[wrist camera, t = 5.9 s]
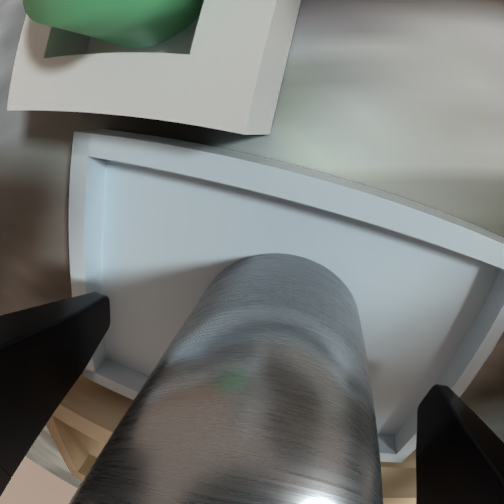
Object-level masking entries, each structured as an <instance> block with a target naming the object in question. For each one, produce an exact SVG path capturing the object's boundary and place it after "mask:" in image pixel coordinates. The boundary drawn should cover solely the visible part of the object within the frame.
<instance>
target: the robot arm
mask: <svg viewBox="0 0 504 504" xmlns="http://www.w3.org/2000/svg"><path fill="white" fill-rule="evenodd" d="M109 326H110V300H109V297H108V296H106V295H104V294H101V293H99V292H91V293H87V294H83V295H79V296H76V297H72V298H68V299H64V300H60V301H56V302H52V303H48V304H44V305H40V306H36V307H33V308H29V309H25V310H21V311H17V312H13V313H9V314H5V315H1V316H0V496H1V494H2V493H3V491H4V489H5V488H6V486H7V484H8V483H9V481H10V479H11V477H12V476H13V474H14V472H15V471H16V469H17V468H18V466H19V465H20V463H21V461H22V460H23V458H24V457H25V455H26V454H27V452H28V451H29V449H30V448H31V446H32V444H33V443H34V441H35V440H36V438H37V437H38V435H39V434H40V432H41V431H42V429H43V428H44V426H45V425H46V424H47V422H48V421H49V419H50V418H51V416H52V415H53V413H54V412H55V410H56V409H57V408H58V406H59V405H60V403H61V402H62V400H63V399H64V398H65V396H66V395H67V393H68V392H69V391H70V389H71V388H72V386H73V385H74V384H75V382H76V381H77V380H78V378H79V377H80V375H81V374H82V373H83V371H84V370H85V368H86V366H87V365H88V363H89V361H90V360H91V358H92V356H93V354H94V353H95V351H96V349H97V347H98V346H99V344H100V342H101V341H102V339H103V337H104V336H105V334H106V332H107V331H108V329H109ZM416 504H504V443H503V442H502V441H501V440H500V439H499V438H498V437H497V436H496V434H495V433H494V432H493V431H492V430H491V429H490V428H489V427H488V426H487V425H486V424H485V423H484V422H483V421H482V420H481V419H480V418H479V417H478V416H477V415H476V414H475V413H474V412H473V411H472V410H471V409H470V408H469V407H468V406H467V405H466V404H465V403H464V402H463V401H462V400H461V399H460V398H459V397H458V396H457V395H456V394H455V393H454V392H453V391H452V390H451V389H450V388H449V387H448V386H446V385H440V384H436V385H434V386H432V387H431V389H430V390H429V392H428V393H427V394H426V396H425V397H424V398H423V400H422V401H421V402H420V404H419V406H418V409H417V437H416Z"/></svg>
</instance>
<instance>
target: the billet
mask: <svg viewBox="0 0 504 504" xmlns="http://www.w3.org/2000/svg"><path fill="white" fill-rule="evenodd" d="M69 504H383V493H382V477H381V464H380V452H379V442H378V433H377V424H376V416H375V408H374V400H373V393H372V386H371V379H370V373H369V367H368V361H367V355H366V349H365V343H364V338H363V332H362V327H361V322H360V317H359V312H358V308H357V304H356V302H355V300H354V298H353V295H352V294H351V292H350V291H349V289H348V287H347V286H346V285H345V284H344V283H343V282H342V280H341V279H340V278H339V277H337V276H336V275H335V274H334V273H333V272H332V271H330V270H329V269H327V268H326V267H324V266H323V265H321V264H318V263H316V262H314V261H312V260H309V259H307V258H304V257H301V256H296V255H291V254H282V253H267V254H260V255H254V256H250V257H247V258H244V259H241V260H239V261H237V262H235V263H233V264H231V265H230V266H228V267H226V268H225V269H224V270H222V271H221V272H220V273H219V274H218V275H217V276H216V277H215V278H214V279H213V280H212V282H211V283H210V284H209V286H208V287H207V289H206V290H205V292H204V293H203V295H202V296H201V298H200V299H199V301H198V302H197V304H196V305H195V307H194V308H193V310H192V311H191V313H190V314H189V316H188V317H187V319H186V321H185V322H184V324H183V325H182V327H181V328H180V330H179V331H178V333H177V334H176V336H175V337H174V339H173V340H172V342H171V343H170V345H169V346H168V348H167V349H166V351H165V352H164V354H163V356H162V357H161V359H160V360H159V362H158V363H157V365H156V366H155V368H154V369H153V371H152V372H151V374H150V376H149V377H148V379H147V380H146V382H145V383H144V385H143V386H142V388H141V389H140V391H139V393H138V394H137V396H136V397H135V399H134V400H133V402H132V403H131V405H130V407H129V408H128V410H127V411H126V413H125V414H124V416H123V418H122V419H121V421H120V422H119V424H118V425H117V427H116V429H115V430H114V432H113V433H112V435H111V437H110V438H109V440H108V441H107V443H106V444H105V446H104V448H103V449H102V451H101V452H100V454H99V456H98V457H97V459H96V460H95V462H94V464H93V465H92V467H91V468H90V470H89V472H88V473H87V475H86V476H85V478H84V480H83V481H82V483H81V485H80V486H79V488H78V489H77V491H76V493H75V494H74V496H73V498H72V499H71V501H70V503H69Z"/></svg>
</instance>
